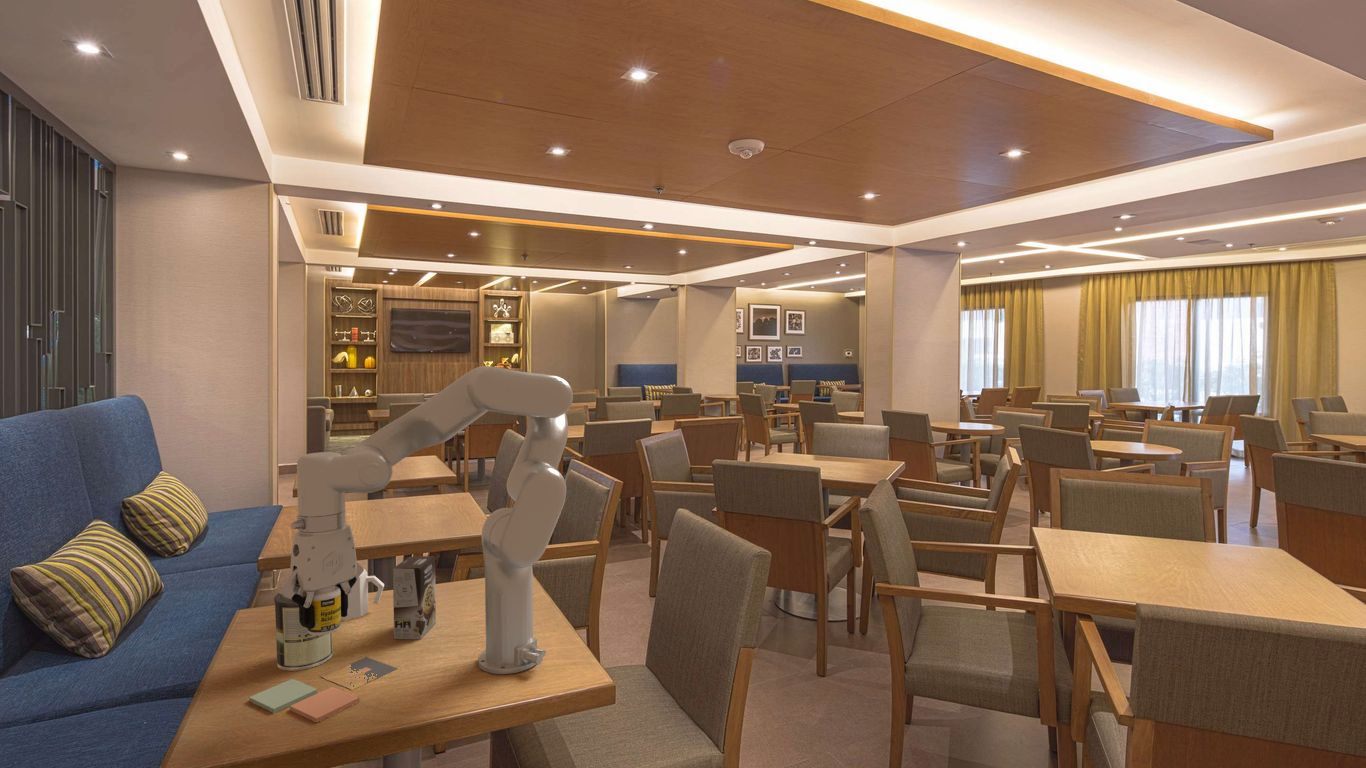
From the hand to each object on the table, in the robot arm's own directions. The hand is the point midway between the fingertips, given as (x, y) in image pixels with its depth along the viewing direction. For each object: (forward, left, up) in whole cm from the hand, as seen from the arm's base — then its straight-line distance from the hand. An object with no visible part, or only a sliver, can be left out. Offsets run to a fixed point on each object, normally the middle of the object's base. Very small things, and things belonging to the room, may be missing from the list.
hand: (324, 620), depth 123 cm
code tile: (+5, -10, -16) cm, 20 cm away
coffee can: (+20, -8, -16) cm, 27 cm away
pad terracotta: (-1, +1, -16) cm, 16 cm away
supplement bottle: (0, 0, -2) cm, 2 cm away
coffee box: (+12, -29, -16) cm, 36 cm away
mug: (+33, -29, -16) cm, 47 cm away
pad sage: (+9, +3, -16) cm, 18 cm away
